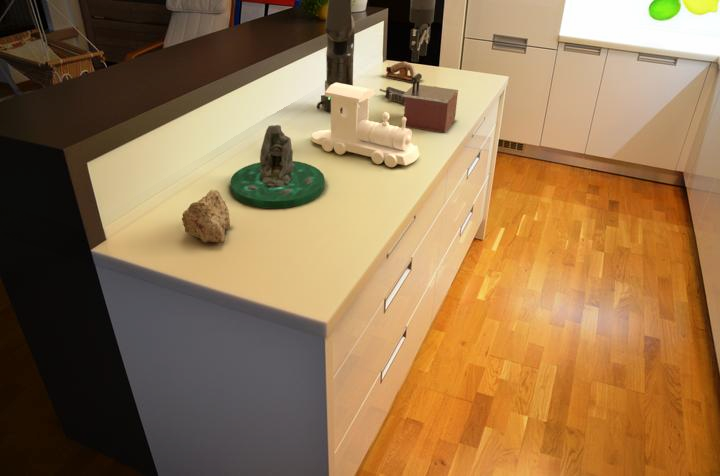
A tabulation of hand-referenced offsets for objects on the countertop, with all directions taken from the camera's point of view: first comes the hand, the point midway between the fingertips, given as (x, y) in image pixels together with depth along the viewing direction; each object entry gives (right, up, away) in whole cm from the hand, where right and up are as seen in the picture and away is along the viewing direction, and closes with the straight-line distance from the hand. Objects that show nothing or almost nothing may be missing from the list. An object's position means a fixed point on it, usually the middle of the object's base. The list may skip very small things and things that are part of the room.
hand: (418, 58), depth 196 cm
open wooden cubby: (+4, -19, +8) cm, 22 cm away
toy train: (-18, -32, -14) cm, 40 cm away
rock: (-52, -57, -57) cm, 96 cm away
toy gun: (+2, -9, +27) cm, 28 cm away
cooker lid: (+4, -11, +3) cm, 12 cm away
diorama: (-41, -45, -36) cm, 71 cm away
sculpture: (-2, +7, +53) cm, 54 cm away
